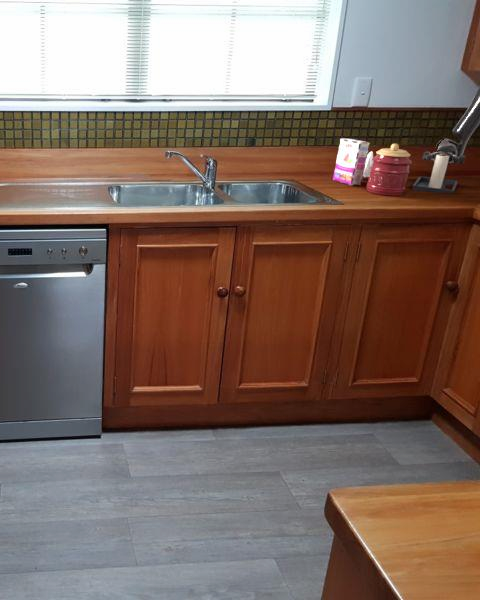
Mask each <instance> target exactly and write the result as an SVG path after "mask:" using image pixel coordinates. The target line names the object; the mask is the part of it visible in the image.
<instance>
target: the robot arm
mask: <svg viewBox="0 0 480 600" xmlns="http://www.w3.org/2000/svg"><path fill="white" fill-rule="evenodd" d="M479 125H480V85H479V87H478V88H477V90H476V92H475V93H474V96H473V98H472V100H471V102H470V103H469V105H468V108H467V109H466V111H465V112H464V114H462V116H461V118H460V119H459V120H458V122H457V123H456V125H455V126H454V128H453V129H452V134H453V135H455V136H456V137H457V138H458V139H459V143H458V142H456V141H454V140H452V139H450V138H443V139H444V140H442V139H441V140H442V141H441V140H440V141H441V143H440V144H439V146H438V149H437V151H436V152H435V151H434V152H432V153H431V152H430V151H425V152H423V154H422V160H423V161H425V160H426V161H427V162H434V163H435V159H436V155H440V154H441V153H443V152H444V153H446V155H447V156H450V157H449V161H448V164H447V166H449V165H451V164H452V165H457V164H460V165H464V164H465V159H466V155H464V152H465V149H466V147H467V143H468V141H469V140H470V138H471V136H472V135H473V133H474V132H475V130H476V129H477V128H478V126H479Z"/></svg>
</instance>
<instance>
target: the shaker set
mask: <svg viewBox="0 0 480 600" xmlns="http://www.w3.org/2000/svg"><path fill="white" fill-rule="evenodd" d="M373 157H374V152H373V151H370V152H368V155H367V159H366V164H365V168H364V173H363V178H362V180H365V179H366V180H367V179H369V174H370V170H371V168H370V167H371V166H372V165H373V160H372V158H373Z"/></svg>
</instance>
